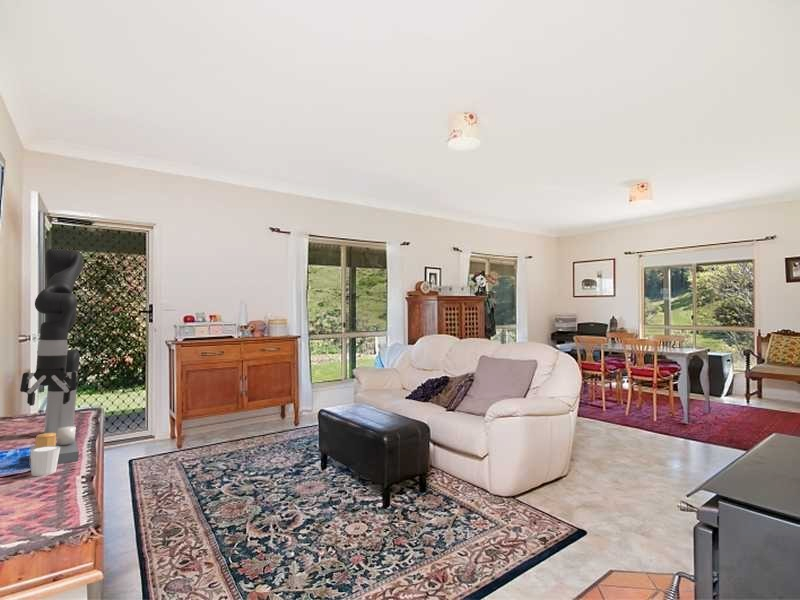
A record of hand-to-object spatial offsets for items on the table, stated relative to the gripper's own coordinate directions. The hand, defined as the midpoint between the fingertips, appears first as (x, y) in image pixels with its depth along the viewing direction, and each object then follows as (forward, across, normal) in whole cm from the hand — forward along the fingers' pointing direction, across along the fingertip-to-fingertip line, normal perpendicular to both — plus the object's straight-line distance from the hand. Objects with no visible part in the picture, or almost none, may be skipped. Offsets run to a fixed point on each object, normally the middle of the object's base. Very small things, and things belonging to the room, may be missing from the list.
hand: (48, 404), depth 137 cm
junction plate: (+18, -2, -3) cm, 18 cm away
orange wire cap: (+14, 0, +1) cm, 14 cm away
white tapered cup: (+18, -3, +13) cm, 22 cm away
